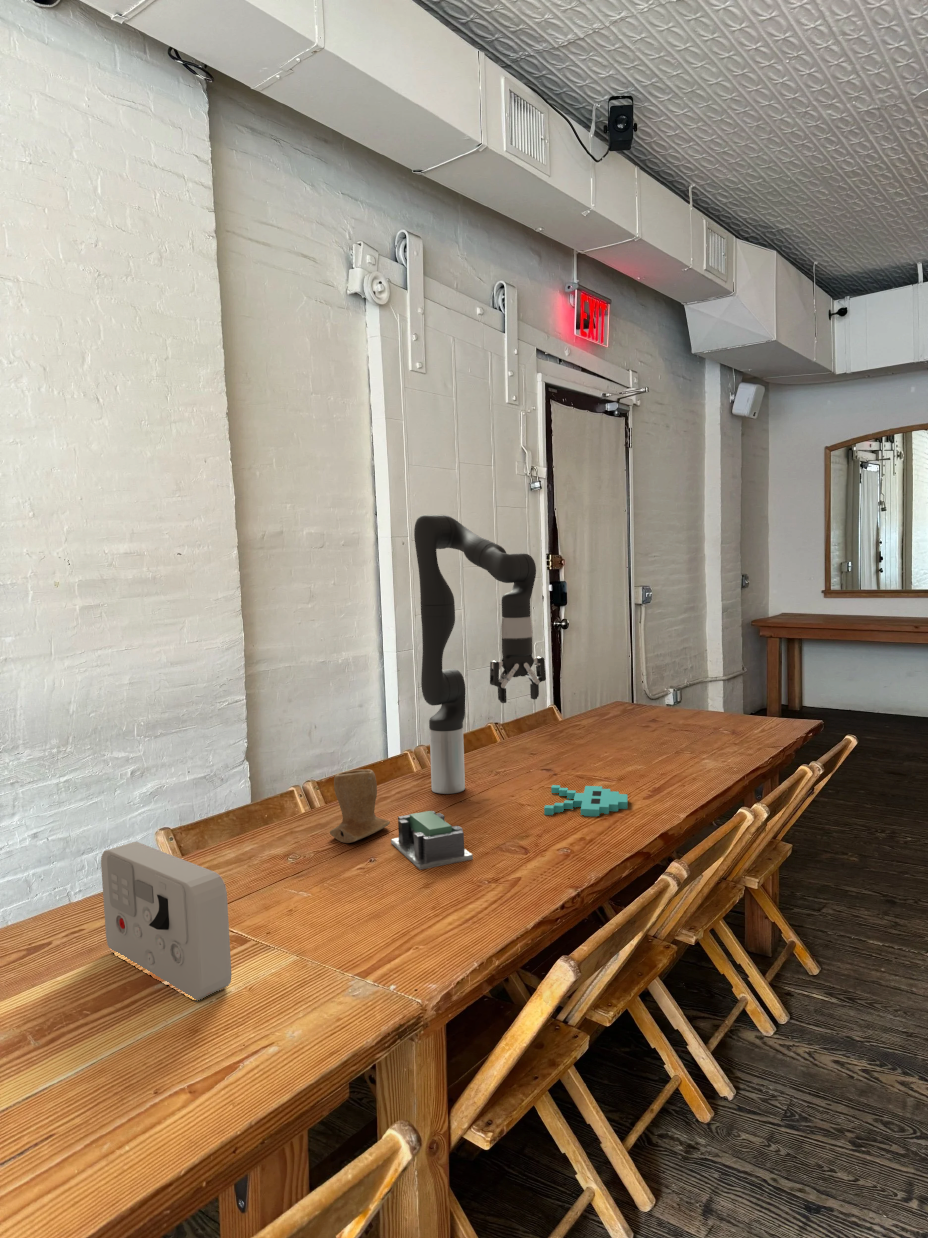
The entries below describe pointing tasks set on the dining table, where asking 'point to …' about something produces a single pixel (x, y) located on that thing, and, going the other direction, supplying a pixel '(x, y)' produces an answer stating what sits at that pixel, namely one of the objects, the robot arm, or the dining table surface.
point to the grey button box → (167, 917)
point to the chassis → (430, 845)
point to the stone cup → (357, 805)
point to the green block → (429, 824)
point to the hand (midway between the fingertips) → (518, 700)
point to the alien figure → (588, 801)
